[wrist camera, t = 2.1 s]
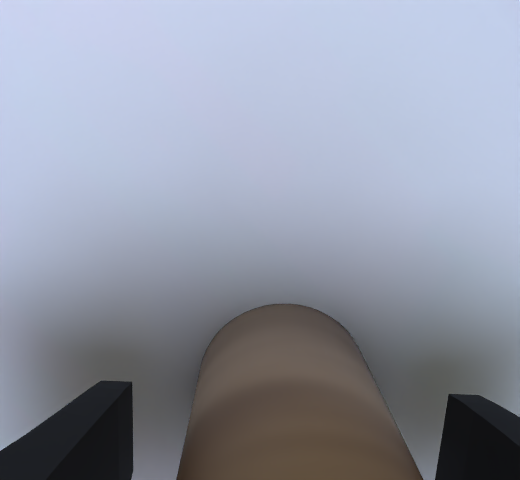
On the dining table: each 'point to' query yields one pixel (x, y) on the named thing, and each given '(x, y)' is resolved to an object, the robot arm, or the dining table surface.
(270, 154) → the dining table surface
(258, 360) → the peg
